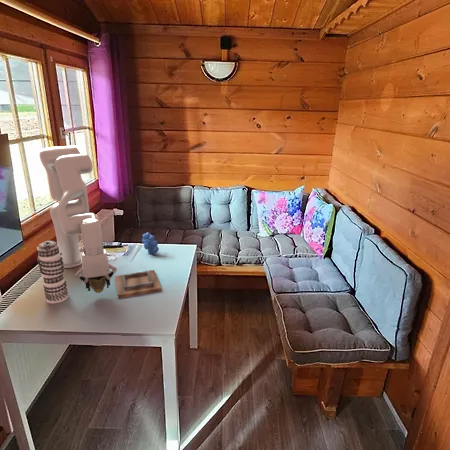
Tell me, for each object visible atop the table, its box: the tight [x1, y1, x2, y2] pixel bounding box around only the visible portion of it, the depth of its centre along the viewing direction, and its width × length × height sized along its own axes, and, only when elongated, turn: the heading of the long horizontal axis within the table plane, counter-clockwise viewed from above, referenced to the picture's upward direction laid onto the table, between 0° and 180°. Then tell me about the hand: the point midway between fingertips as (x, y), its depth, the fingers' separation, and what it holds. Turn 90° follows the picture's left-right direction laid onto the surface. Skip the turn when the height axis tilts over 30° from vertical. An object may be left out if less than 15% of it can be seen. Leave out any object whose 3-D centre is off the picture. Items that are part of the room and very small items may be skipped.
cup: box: [88, 276, 107, 294], centre depth 146 cm, size 8×7×8 cm
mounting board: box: [114, 269, 162, 299], centre depth 158 cm, size 18×18×3 cm
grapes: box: [141, 231, 160, 255], centre depth 187 cm, size 12×7×12 cm, turn 54°
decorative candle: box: [36, 240, 69, 305], centre depth 143 cm, size 9×9×25 cm
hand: (98, 287), depth 147 cm, fingers closed on cup, 6 cm apart
